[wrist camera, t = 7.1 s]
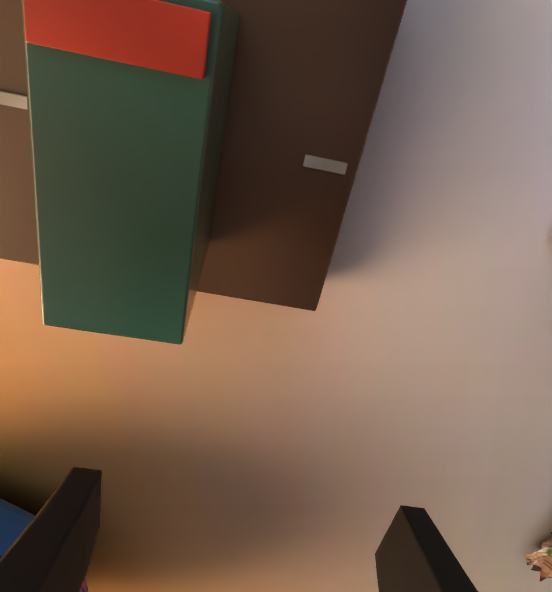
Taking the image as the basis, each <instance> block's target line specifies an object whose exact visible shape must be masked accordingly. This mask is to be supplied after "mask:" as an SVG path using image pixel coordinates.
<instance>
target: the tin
mask: <svg viewBox="0 0 552 592" xmlns="http://www.w3.org/2000/svg"><path fill="white" fill-rule="evenodd" d="M21 3H22V18H23V33H24V48H25V63H26V78H27V93H28V108H29V123H30V138H31V153H32V168H33V183H34V198H35V213H36V228H37V243H38V258H39V273H40V288H41V303H42V318H43V324H44V325H49V326H55V327H62V328H69V329H76V330H83V331H90V332H97V333H104V334H111V335H118V336H125V337H132V338H138V339H145V340H152V341H159V342H166V343H173V344H182V343H183V341H184V337H185V333H186V329H187V325H188V322H189V318H190V314H191V310H192V307H193V303H194V299H195V295H196V292H197V288H198V284H199V280H200V276H201V273H202V269H203V265H204V261H205V258H206V254H207V250H208V246H209V242H210V234H211V227H212V220H213V212H214V205H215V197H216V190H217V182H218V175H219V168H220V160H221V153H222V145H223V138H224V130H225V123H226V115H227V108H228V101H229V93H230V86H231V78H232V71H233V63H234V56H235V48H236V41H237V34H238V26H239V19H240V16H239V14H238V13H237V12H235V11H234V10H233V9H231V8H230V7H228V6H227V5H225V4H224V3H223V2H221V1H220V0H21Z"/></svg>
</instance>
